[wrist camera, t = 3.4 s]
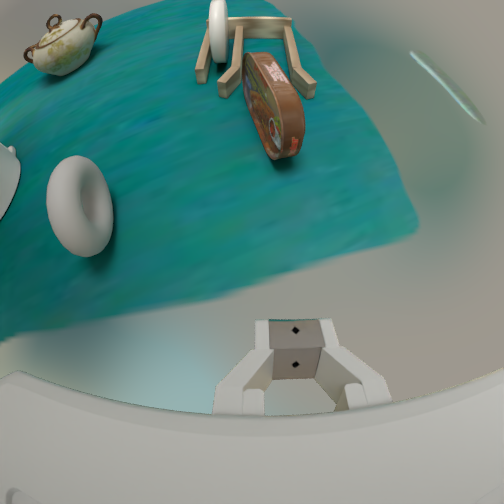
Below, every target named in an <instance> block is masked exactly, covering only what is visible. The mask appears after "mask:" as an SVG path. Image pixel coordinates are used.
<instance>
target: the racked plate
mask: <svg viewBox="0 0 504 504" xmlns="http://www.w3.org/2000/svg"><path fill="white" fill-rule="evenodd" d="M209 37H210V46H211V52H212V57H213V60H214V62H215V63H227V61H228V54H229V24H228V12H227V5H226V1H225V0H212V2H211V4H210V11H209Z"/></svg>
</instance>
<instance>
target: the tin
mask: <svg viewBox="0 0 504 504" xmlns="http://www.w3.org/2000/svg"><path fill="white" fill-rule="evenodd" d="M242 81H243V90H244V96H245V100H246V103H247V106H248V109H249V111H250V114H251V116H252V118H253V121H254V123H255V126H256V128H257V131H258V133H259V136H260V138H261V141H262V143H263V146H264V148H265V151H266V153H267V154H268V156H269V157H270V158H271V159H273V160H277V159H279V158H285V157H291V156H295V155H297V154H298V153H299V151H300V149H301V146H302V142H303V137H304V134H305V117H304V111H303V107H302V103H301V100H300V98H299V95H298V93H297V92H296V90H295V88H294V87H293V85H292V83H291V82H290V80H289V79H288V77H287V76H286V74H285V73H284V71H283V70H282V68H281V67H280V65H279V64H278V62H277V61H276V60H275V58H274V57H273V56H272V55H271V54H270V53H268V52H256V53H250V52H247V53H245V54H244V57H243V60H242Z"/></svg>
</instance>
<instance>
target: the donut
mask: <svg viewBox="0 0 504 504" xmlns="http://www.w3.org/2000/svg"><path fill="white" fill-rule="evenodd" d="M46 204H47V210H48V216H49V220H50V223H51V226H52V228H53V231H54V233H55V235H56V236H57V238H58V239H59V241H60V242H61V244H62V245H63V246H64V247H65V248H67V249H68V250H69V251H70V252H71V253H73V254H75V255H79V256H83V257H90V256H93V255H96V254H98V253H100V252H101V251H102V250H103V249H104V248H105V246H106V245H107V244H108V242H109V240H110V237H111V233H112V230H113V206H112V201H111V195H110V192H109V189H108V186H107V183H106V181H105V179H104V177H103V174H102V173H101V171H100V170H99V168H98V167H97V166H96V165H95V164H94V163H93V162H92V161H91V160H89V159H88V158H85V157H81V156H72V157H69V158H66V159H64V160H62V161H61V162H60V163H59V164H58V166H57V167H56V168H55V169H54V171H53V172H52V174H51V177H50V180H49V183H48V187H47V200H46ZM82 205H83V207H82Z"/></svg>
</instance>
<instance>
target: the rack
mask: <svg viewBox="0 0 504 504" xmlns="http://www.w3.org/2000/svg"><path fill="white" fill-rule="evenodd" d="M291 22H292V19H291V18H283V17H231V18H228V24H229V39H235V40H234V48H233V57H232V66H231V67H230V68H229V69H228V70H227V71H226V72H225V73H224V74H223V75H222V76H221V78H220V79H219V80H218V81H217V84H218V91H219V97H224V98H228V97H229V95H230V94H231V93H232V92H233V91H234V90H235V88H236V87H237V86H238V85H239V84H240V83H241V76H242V58H243V42H244V38H276V39H283V40H284V45H285V51H286V56H287V62H288V68H289V74H290V80H291V83H292V84H293V85H294V86H295V87H296V89H297V90H298V91H299V92H300V93H301V94H302V95H303V96H304V97H305V98H306V99H310V98H314V94H315V89H316V84H317V82H316V81H315V80H314V79H313V78H312V77H311V76H310V75H309V74H308V73H307V72H305V71H304V70H303V69H302V68H301V65H300V60H299V56H298V52H297V48H296V44H295V40H294V36H293V32H292V29H291ZM206 23H207V31H206V34H205V37H204V40H203V43H202V47H201V50H200V53H199V57H198V60H197V64H196V67H195V73H196V77H197V82H198V84H204V83H206V81H207V76H208V72H209V67H210V62H211V58H212V52H211V46H210V37H209V19H207V21H206Z"/></svg>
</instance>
